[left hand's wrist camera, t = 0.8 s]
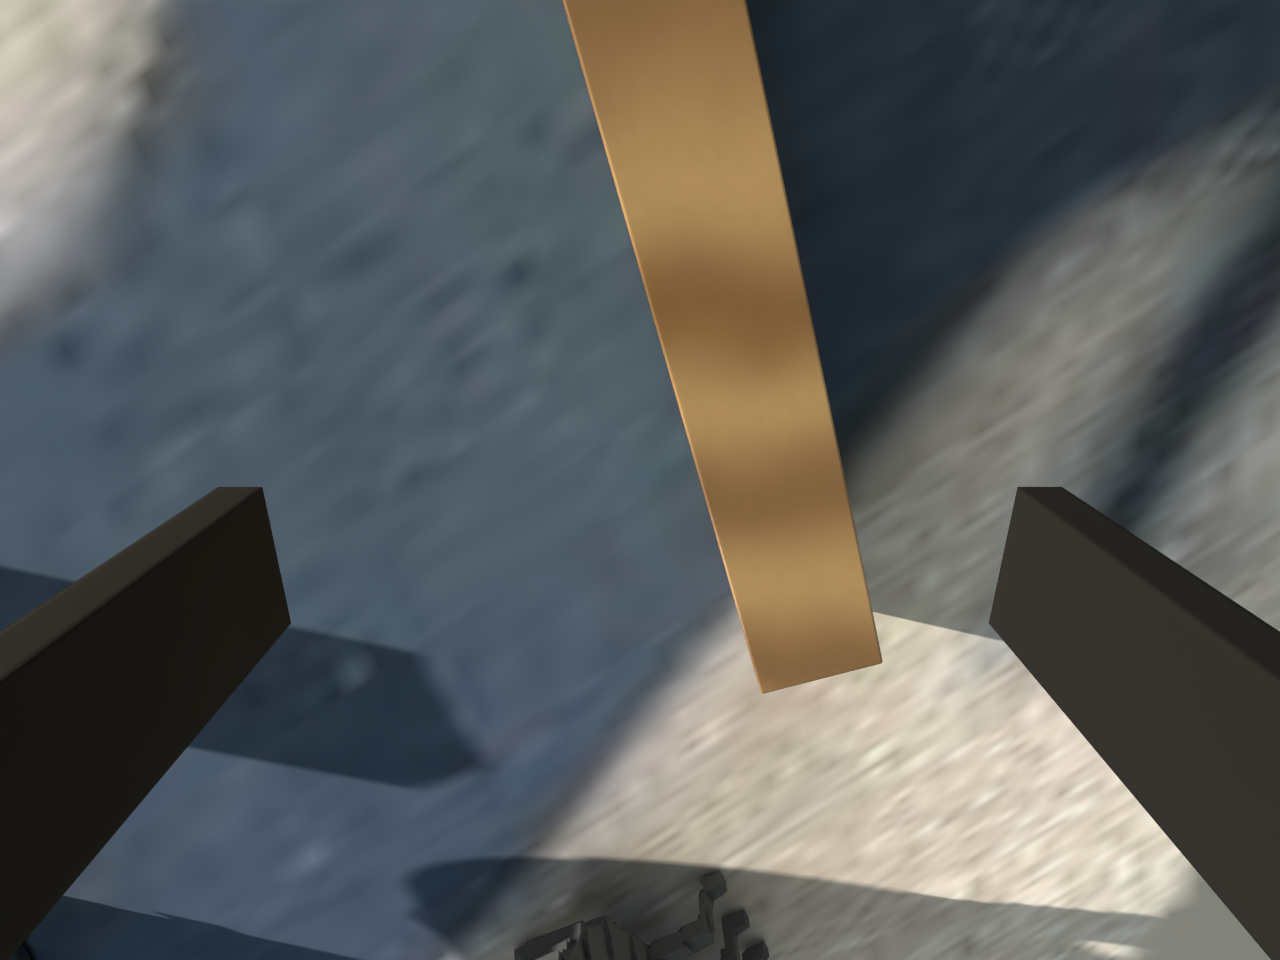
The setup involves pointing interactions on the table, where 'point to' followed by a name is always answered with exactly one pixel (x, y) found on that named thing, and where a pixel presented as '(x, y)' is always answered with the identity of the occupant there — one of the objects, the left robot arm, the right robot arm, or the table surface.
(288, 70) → the table surface
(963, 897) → the table surface
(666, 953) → the toy
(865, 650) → the beam
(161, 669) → the left robot arm
